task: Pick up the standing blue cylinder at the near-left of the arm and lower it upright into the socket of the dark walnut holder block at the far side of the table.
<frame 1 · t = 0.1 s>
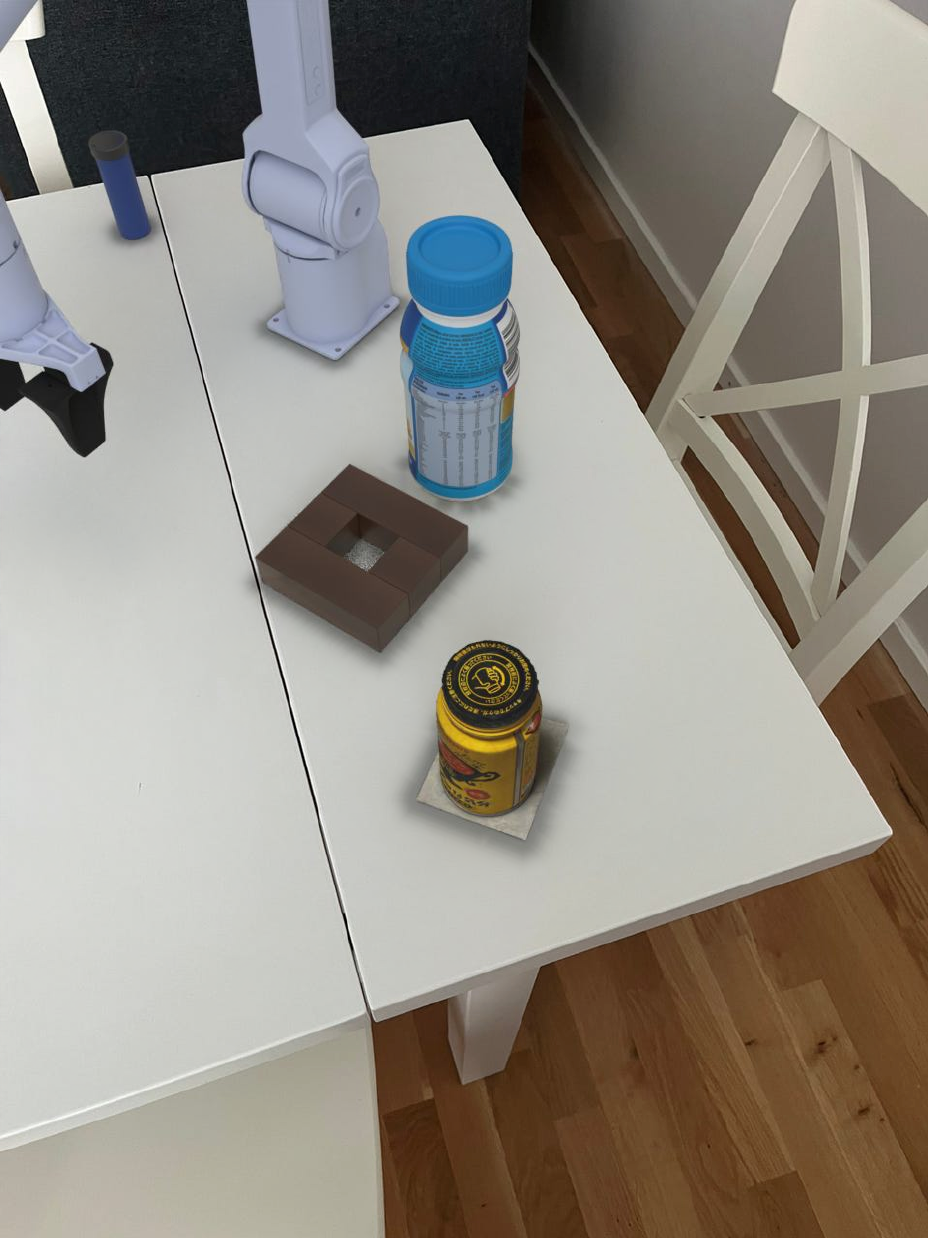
hand: (51, 423, 67), 10 cm above the table, tool pointing down, fingers open, 7 cm apart
holder: (366, 566, 72), on the table
blue cylinder: (135, 229, 96), on the table
beverage bottle: (460, 467, 78), on the table
condiment: (493, 765, 64), on the table
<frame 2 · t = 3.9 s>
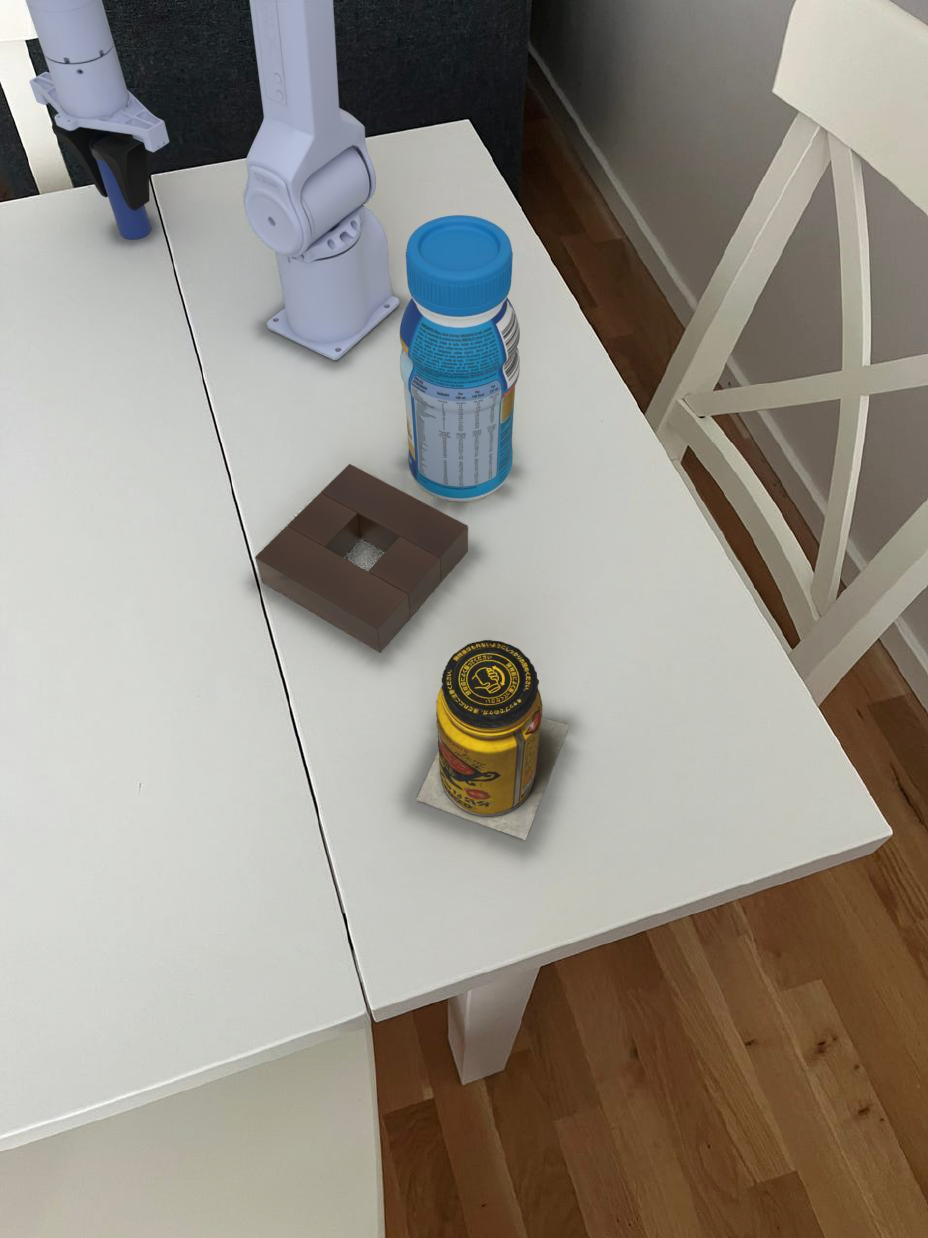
hand: (125, 197, 93), 3 cm above the table, tool pointing down, fingers closed on blue cylinder, 3 cm apart
blue cylinder: (135, 230, 96), on the table, touching gripper
everything else where it was.
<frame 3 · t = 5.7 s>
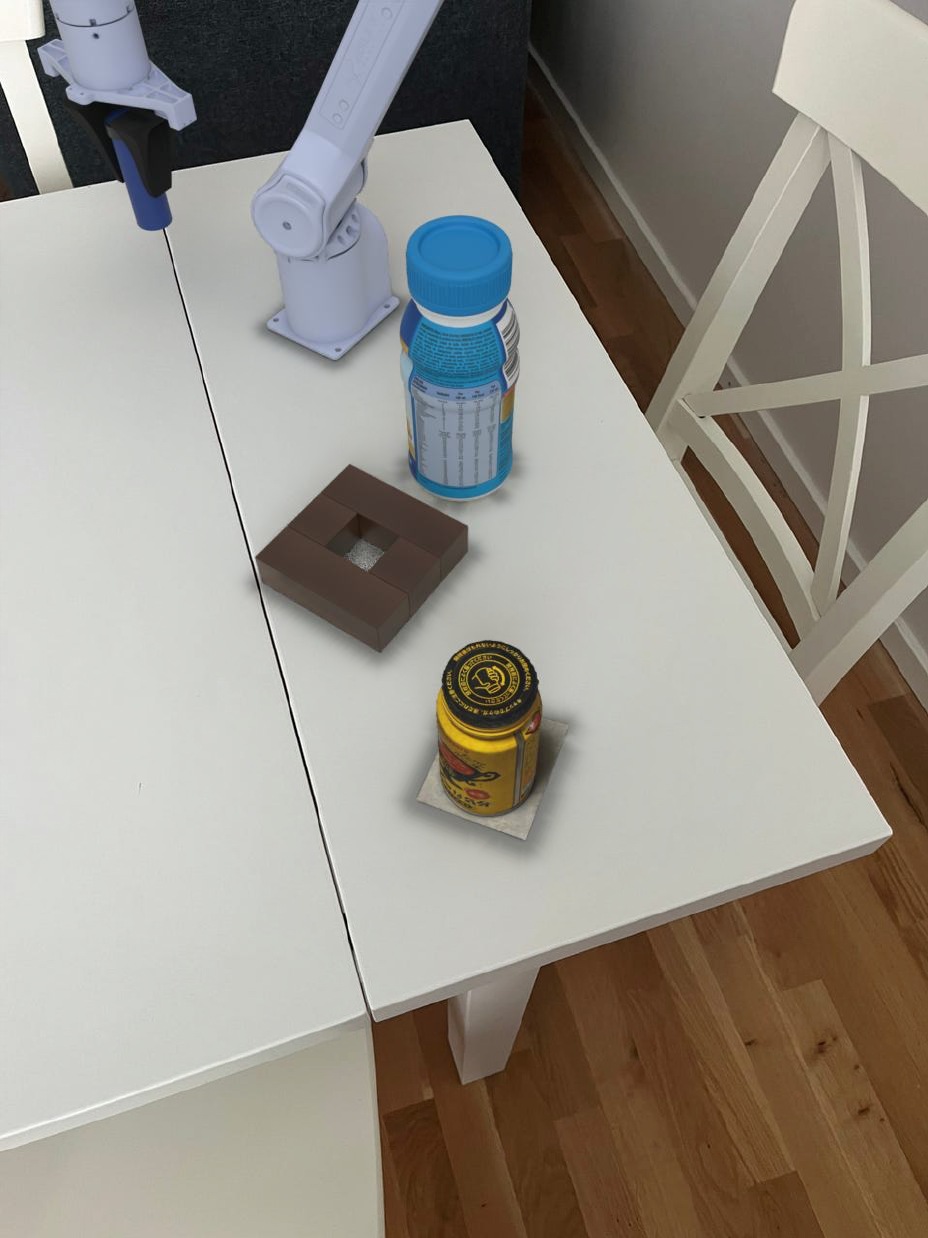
hand: (144, 183, 82), 10 cm above the table, tool pointing down, fingers closed on blue cylinder, 3 cm apart
blue cylinder: (155, 220, 85), point 7 cm above the table, touching gripper
everything else where it was.
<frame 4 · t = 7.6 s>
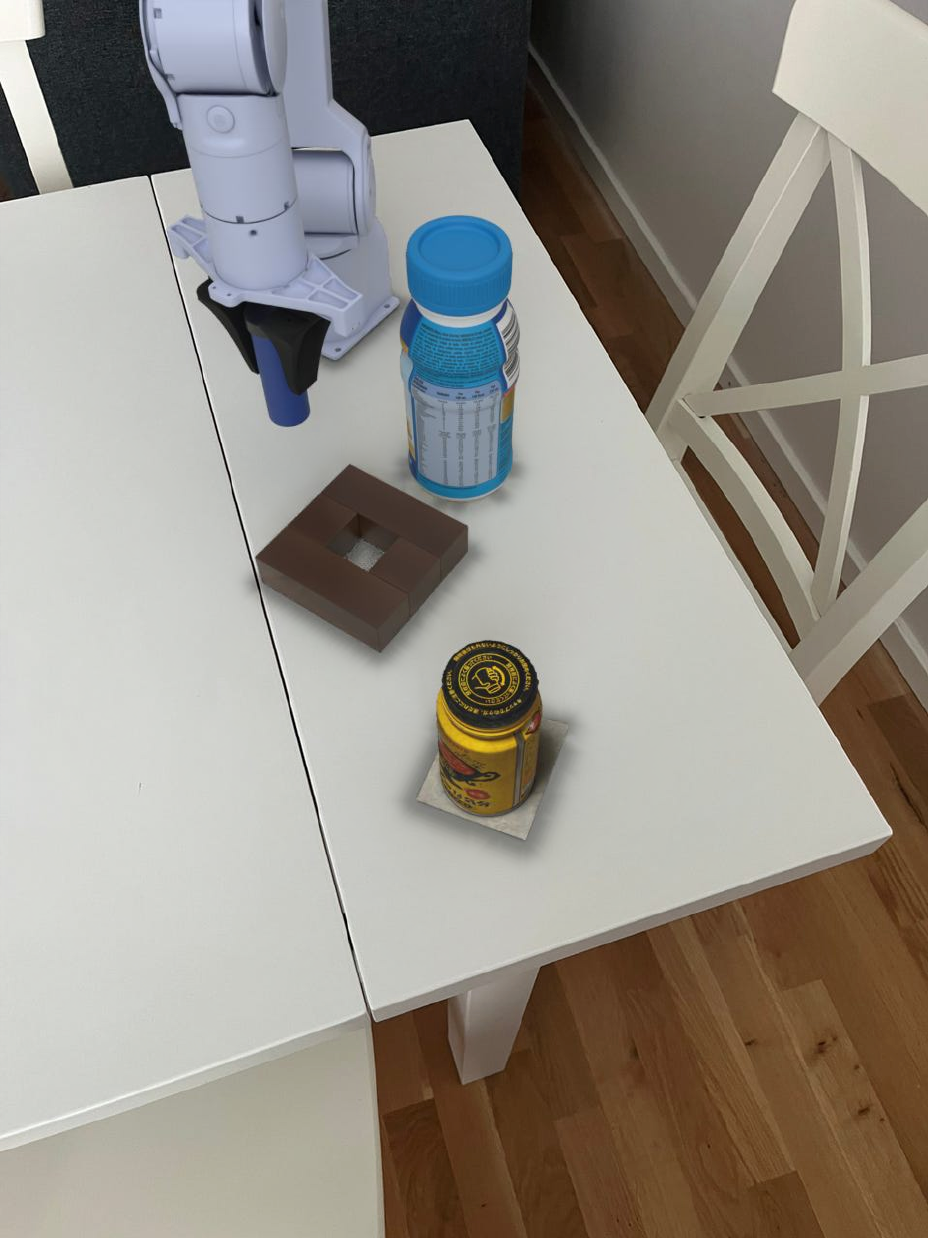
hand: (283, 375, 69), 10 cm above the table, tool pointing down, fingers closed on blue cylinder, 3 cm apart
blue cylinder: (289, 412, 71), point 7 cm above the table, touching gripper
everything else where it was.
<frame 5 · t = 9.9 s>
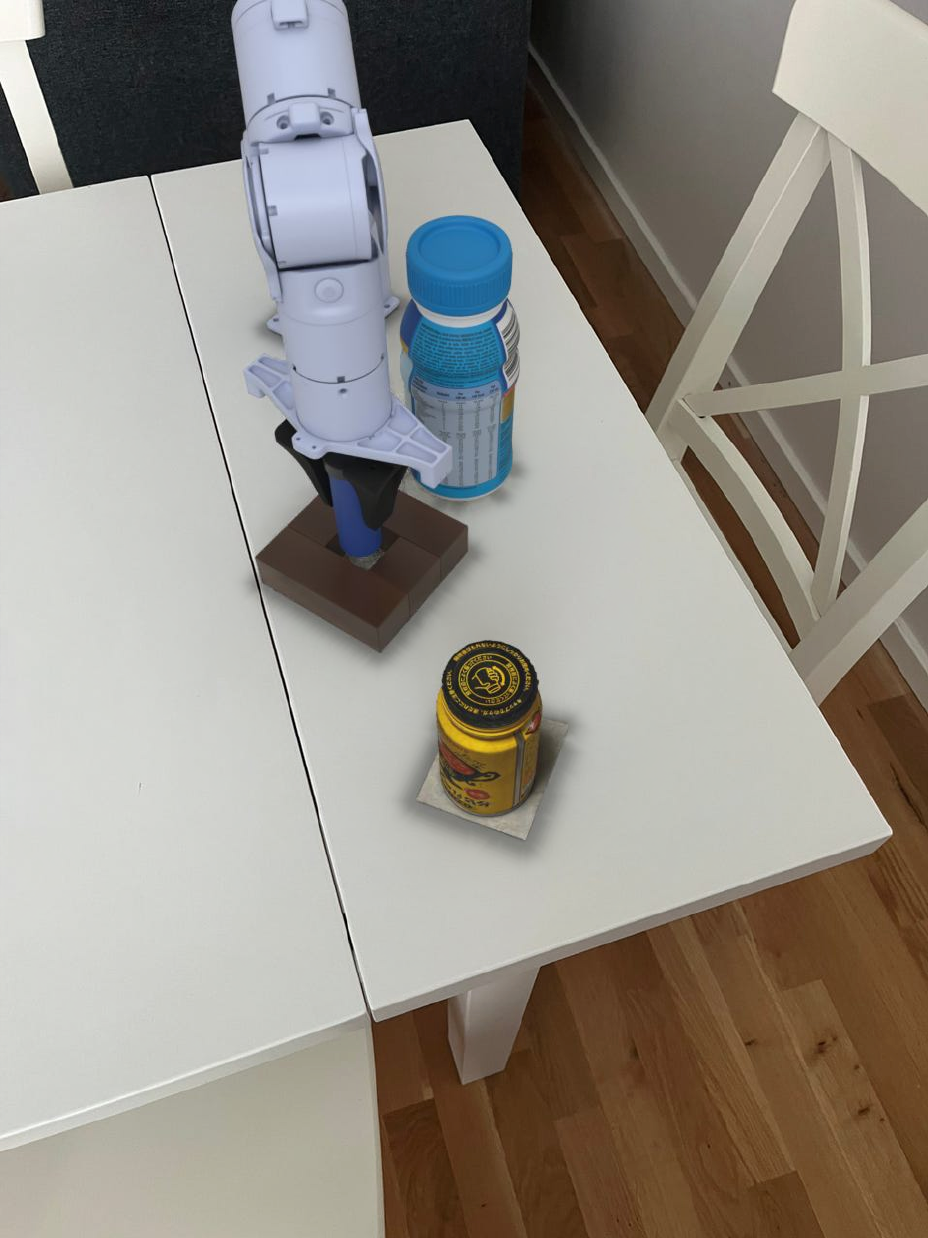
hand: (358, 507, 67), 7 cm above the table, tool pointing down, fingers closed on blue cylinder, 3 cm apart
blue cylinder: (360, 540, 70), point 3 cm above the table, touching gripper
everything else where it was.
when the fingers open (3 cm above the table, at t = 11.6 s): blue cylinder stays where it is, resting in holder.
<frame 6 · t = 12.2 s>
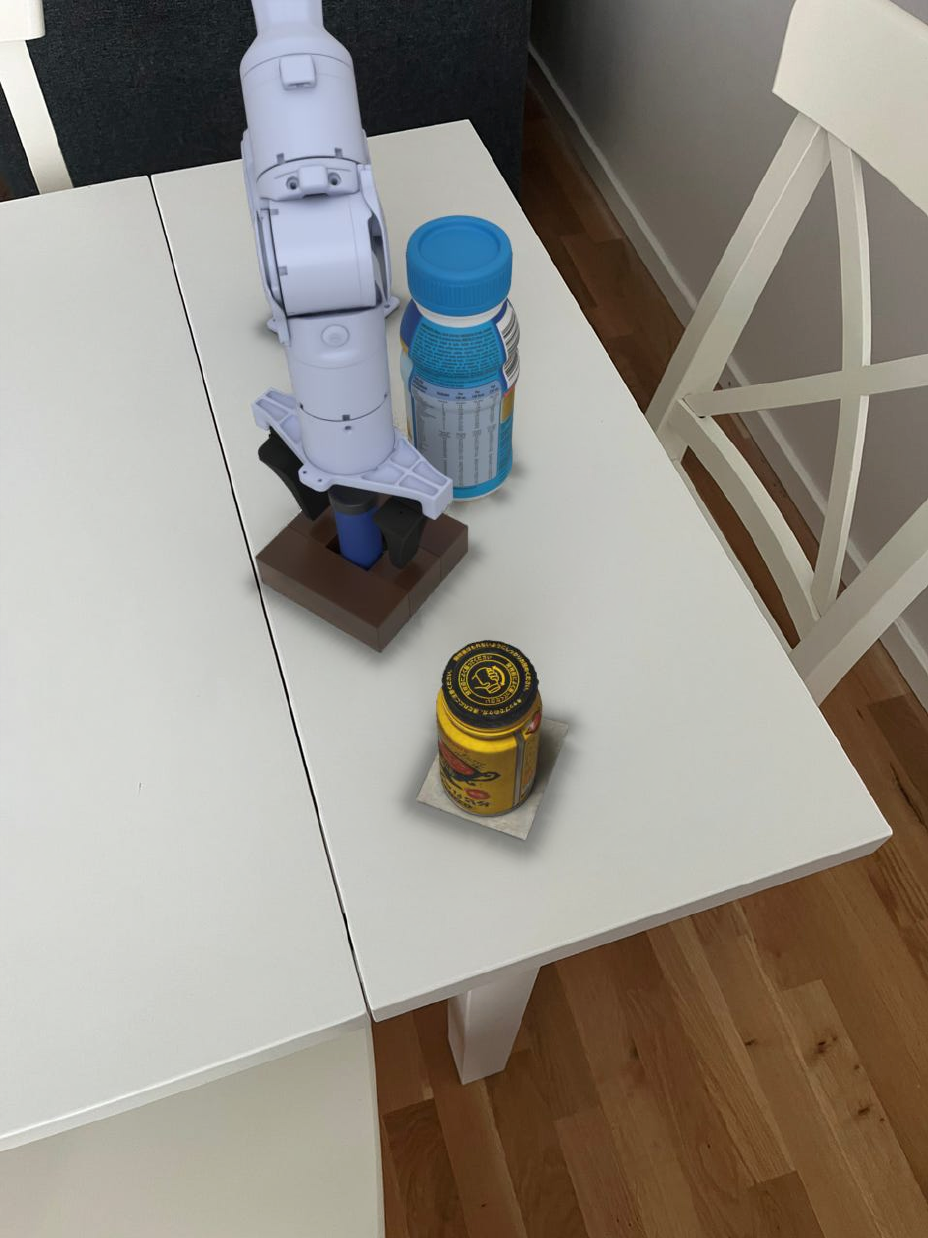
hand: (361, 534, 69), 4 cm above the table, tool pointing down, fingers open, 7 cm apart
blue cylinder: (364, 569, 72), resting in holder
everything else where it was.
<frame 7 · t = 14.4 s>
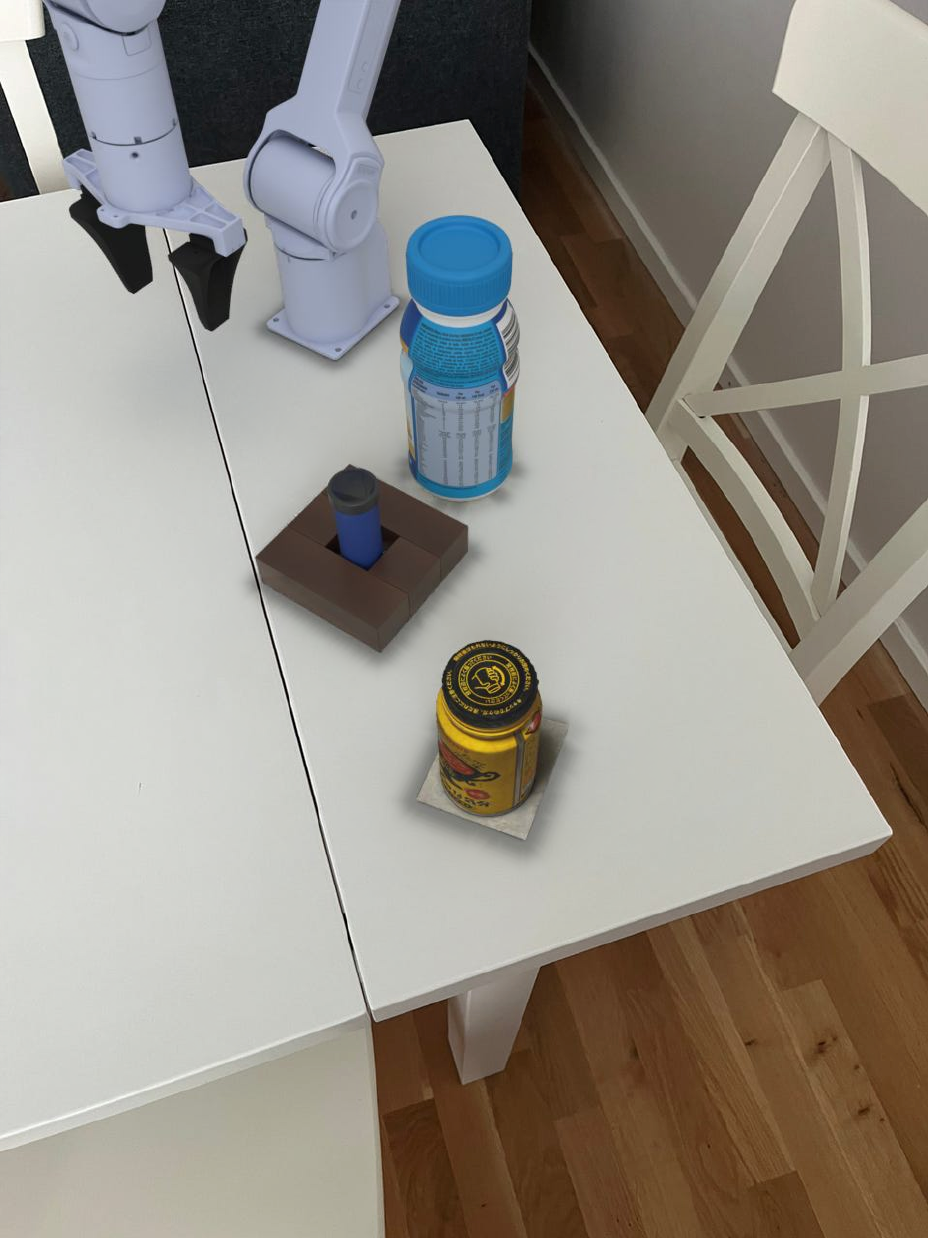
hand: (178, 304, 73), 10 cm above the table, tool pointing down, fingers open, 7 cm apart
nothing on the table moved.
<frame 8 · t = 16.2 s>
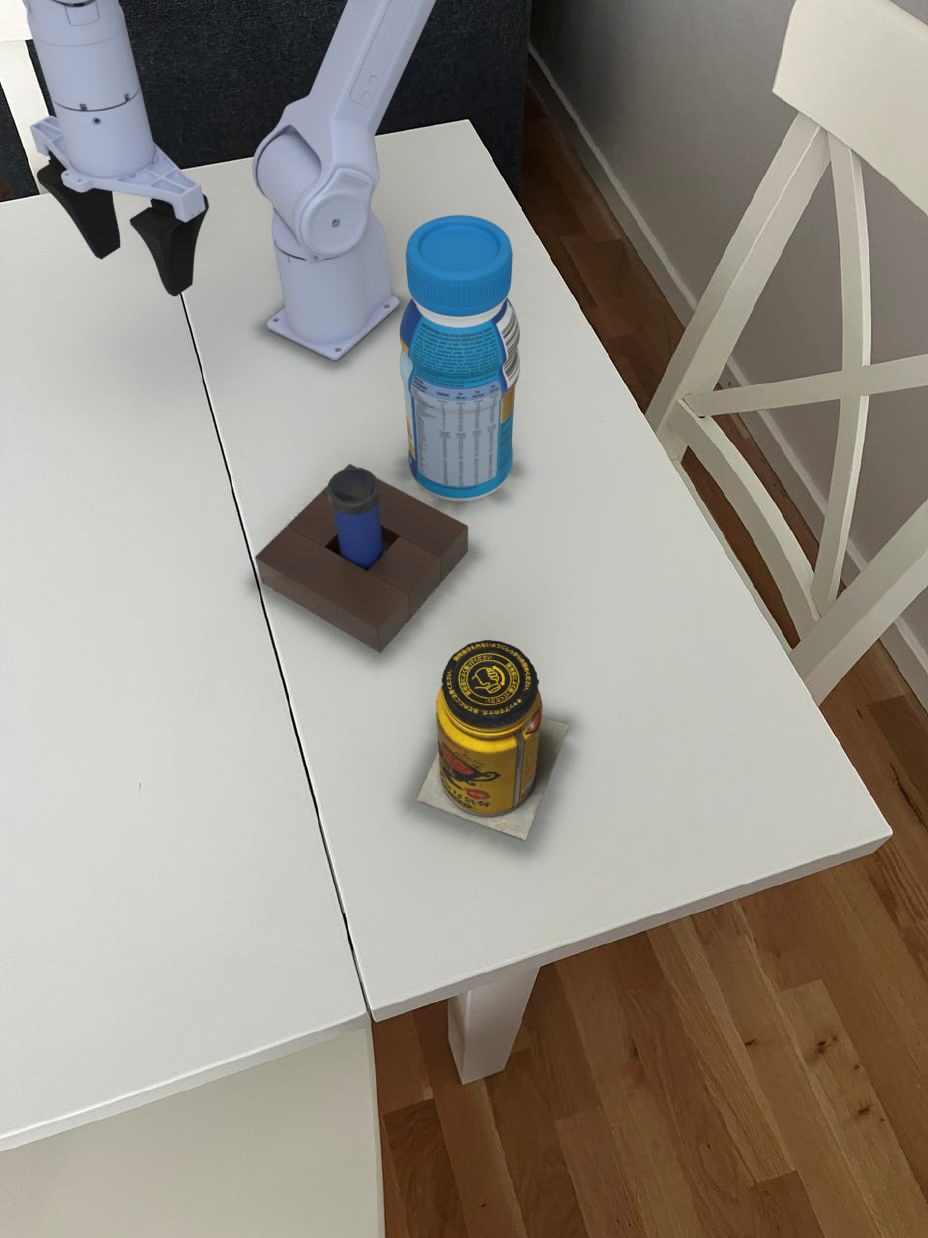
hand: (143, 270, 75), 10 cm above the table, tool pointing down, fingers open, 7 cm apart
nothing on the table moved.
at the end: blue cylinder 0.2 cm off-centre in the holder, point 0.0 cm above the holder's base; blue cylinder tilted 0°; the gripper is holding nothing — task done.
